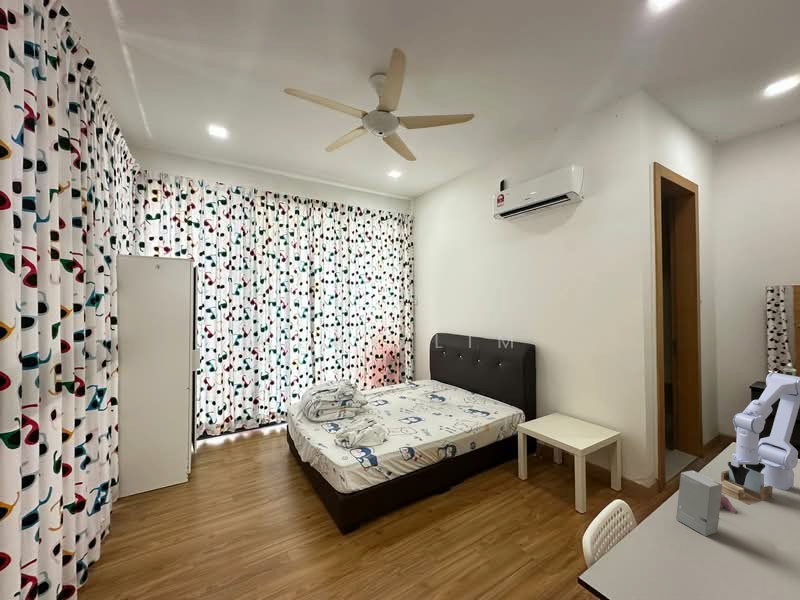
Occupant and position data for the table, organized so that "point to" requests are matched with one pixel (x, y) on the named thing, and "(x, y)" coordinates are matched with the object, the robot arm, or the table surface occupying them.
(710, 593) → the table surface
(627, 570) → the table surface
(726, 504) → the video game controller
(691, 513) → the skincare box
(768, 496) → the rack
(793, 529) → the table surface
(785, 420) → the robot arm
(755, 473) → the tall sheet
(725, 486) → the offcut stack
